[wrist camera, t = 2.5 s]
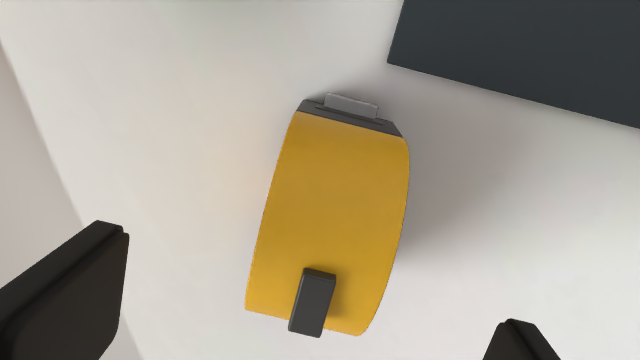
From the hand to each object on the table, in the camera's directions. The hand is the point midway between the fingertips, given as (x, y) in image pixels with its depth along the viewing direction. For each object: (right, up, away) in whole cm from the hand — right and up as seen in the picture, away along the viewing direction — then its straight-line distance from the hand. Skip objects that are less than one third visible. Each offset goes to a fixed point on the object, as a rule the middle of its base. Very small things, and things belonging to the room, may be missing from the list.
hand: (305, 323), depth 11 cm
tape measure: (+1, +3, +9) cm, 10 cm away
